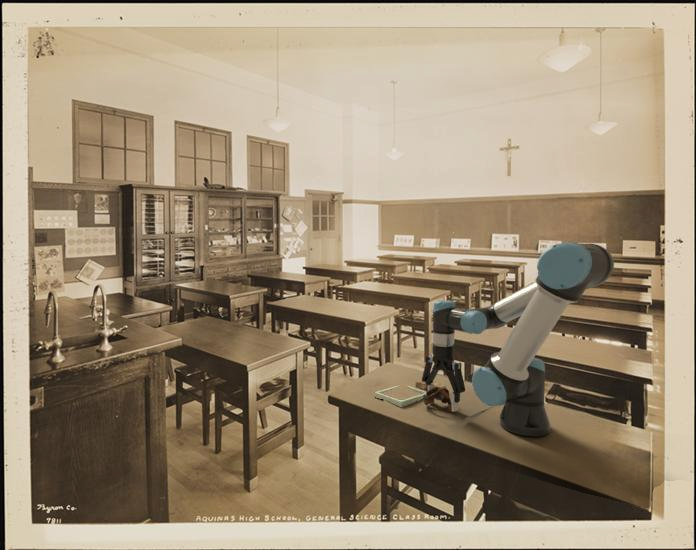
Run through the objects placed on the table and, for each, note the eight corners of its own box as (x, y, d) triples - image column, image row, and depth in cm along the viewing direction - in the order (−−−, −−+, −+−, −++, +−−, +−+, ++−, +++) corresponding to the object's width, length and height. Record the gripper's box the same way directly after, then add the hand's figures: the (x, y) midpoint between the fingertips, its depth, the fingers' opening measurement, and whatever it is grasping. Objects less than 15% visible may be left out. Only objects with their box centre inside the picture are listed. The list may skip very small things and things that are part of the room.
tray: (430, 397, 156) (430, 392, 155) (401, 407, 145) (401, 402, 145) (402, 389, 166) (402, 384, 166) (374, 397, 156) (374, 392, 156)
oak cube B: (429, 391, 163) (429, 381, 163) (423, 393, 161) (423, 383, 161) (422, 389, 166) (422, 379, 166) (415, 391, 164) (415, 381, 164)
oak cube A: (445, 395, 158) (445, 385, 158) (439, 397, 156) (439, 387, 156) (437, 393, 162) (437, 383, 161) (430, 395, 159) (431, 385, 159)
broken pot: (450, 416, 137) (438, 394, 138) (427, 422, 143) (415, 401, 143) (461, 398, 147) (449, 378, 147) (439, 404, 153) (428, 385, 153)
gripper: (477, 348, 138) (476, 413, 139) (425, 338, 155) (424, 395, 156) (464, 351, 133) (462, 418, 134) (412, 340, 150) (411, 400, 151)
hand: (442, 406), depth 145 cm, fingers closed on broken pot, 10 cm apart
